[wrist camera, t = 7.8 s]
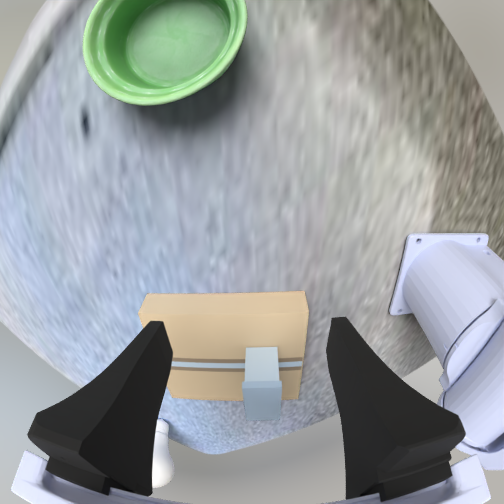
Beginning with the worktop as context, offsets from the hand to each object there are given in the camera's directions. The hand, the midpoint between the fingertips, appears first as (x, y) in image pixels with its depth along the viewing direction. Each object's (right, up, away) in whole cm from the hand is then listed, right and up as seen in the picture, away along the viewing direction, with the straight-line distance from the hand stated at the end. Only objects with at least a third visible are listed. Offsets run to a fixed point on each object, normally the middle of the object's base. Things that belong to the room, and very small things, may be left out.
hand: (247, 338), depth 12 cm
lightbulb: (-13, -20, +23) cm, 33 cm away
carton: (-2, -5, +14) cm, 15 cm away
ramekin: (-4, +17, +2) cm, 18 cm away
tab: (+1, -6, +12) cm, 13 cm away
